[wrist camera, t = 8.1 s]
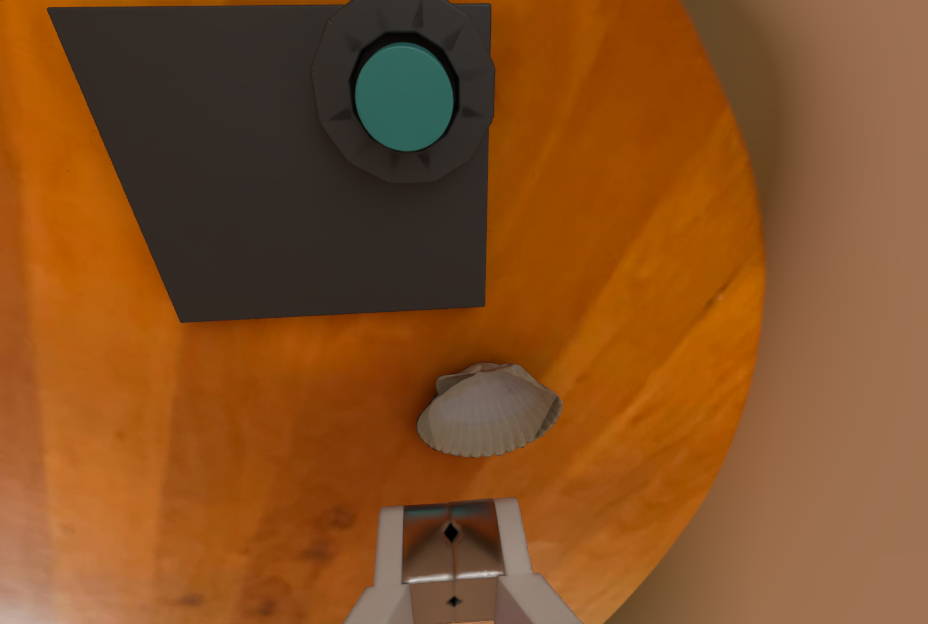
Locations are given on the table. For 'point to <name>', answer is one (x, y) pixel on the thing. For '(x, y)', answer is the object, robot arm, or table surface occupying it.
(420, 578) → the robot arm
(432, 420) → the seashell
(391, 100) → the button
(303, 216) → the black button board
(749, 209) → the table surface
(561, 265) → the table surface
